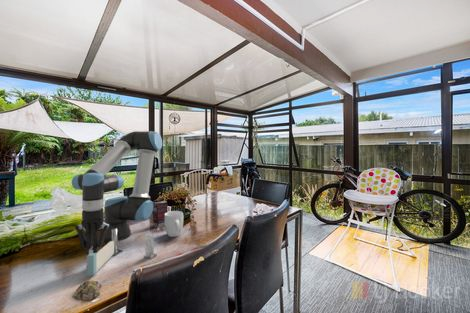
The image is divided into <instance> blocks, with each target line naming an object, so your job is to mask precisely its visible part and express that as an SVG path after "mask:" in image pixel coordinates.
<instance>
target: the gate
mask: <svg viewBox="0 0 470 313" xmlns="http://www.w3.org/2000/svg"><path fill="white" fill-rule="evenodd" d="M113 254H114V241H110V242H107V244H105V245H104V246H103V247H102V248H101V249H99V250H98V252H97V253H90V254H89V255H87V254H86V260H87V261H86V264H87V265H86V268H87V270H86V271H87V272H86V274H87V276H94V275H95V274H97V271H98V270H100V269H101V267H103V265H104V264H105V263H106V262H107V261H109V259H110V258H111V257H113V256H112V255H113Z"/></svg>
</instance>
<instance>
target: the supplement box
mask: <svg viewBox="0 0 470 313" xmlns="http://www.w3.org/2000/svg"><path fill="white" fill-rule="evenodd" d="M167 212H168V201H166V200H161V201H157V202H156V201H155V202H153V211H152V226H153V227H154V228H156V227H157V228H160V227H163V226H164V227H165V222H164V221H165V213H167Z"/></svg>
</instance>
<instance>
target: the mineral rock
mask: <svg viewBox="0 0 470 313" xmlns="http://www.w3.org/2000/svg"><path fill="white" fill-rule="evenodd" d="M102 287H103V285H102V284H101V283H99V282H98V281H96V280H89V279H87V280H85V281H83V282H82V283H81V284H80V285H79V286H78V287H77V288H76V291H75V292H74V296H73V297H74V298H77V299H78V300H83V301H85V302H86V301H88V300H89V301H90V300H91V301H92V300H95V299H97V298H98V297H99V296H100V294H101V292H100V289H101V288H102Z"/></svg>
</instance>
